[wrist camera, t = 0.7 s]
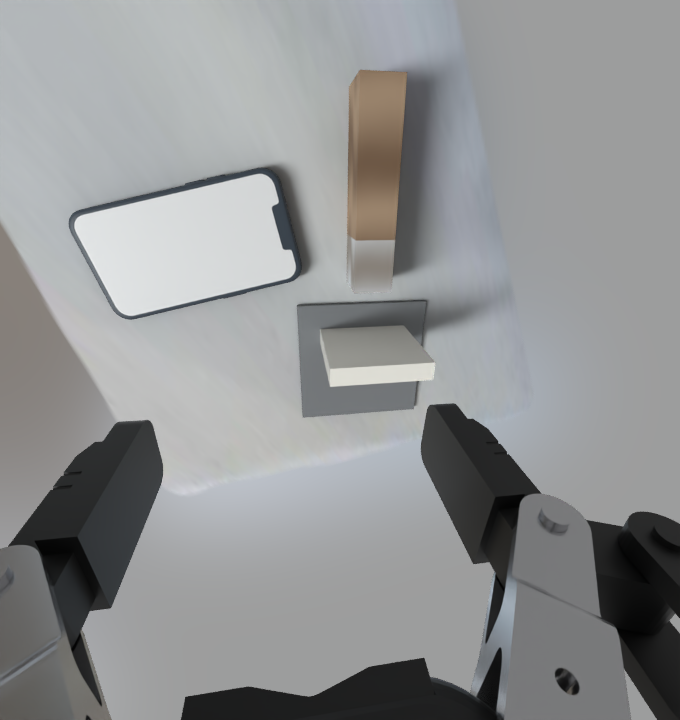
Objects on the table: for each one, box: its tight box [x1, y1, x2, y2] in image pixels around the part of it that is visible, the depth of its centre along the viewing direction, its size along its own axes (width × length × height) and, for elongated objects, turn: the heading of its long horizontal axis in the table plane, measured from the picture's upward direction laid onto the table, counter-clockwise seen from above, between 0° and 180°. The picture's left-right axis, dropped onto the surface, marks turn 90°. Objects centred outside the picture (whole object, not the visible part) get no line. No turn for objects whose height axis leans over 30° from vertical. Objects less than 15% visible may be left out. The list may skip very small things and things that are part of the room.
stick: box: [347, 70, 407, 294], centre depth 26 cm, size 14×3×4 cm, turn 179°
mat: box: [297, 300, 426, 417], centre depth 35 cm, size 12×12×1 cm
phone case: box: [69, 168, 302, 319], centre depth 28 cm, size 9×2×16 cm
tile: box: [320, 325, 436, 387], centre depth 30 cm, size 2×8×8 cm, turn 89°
